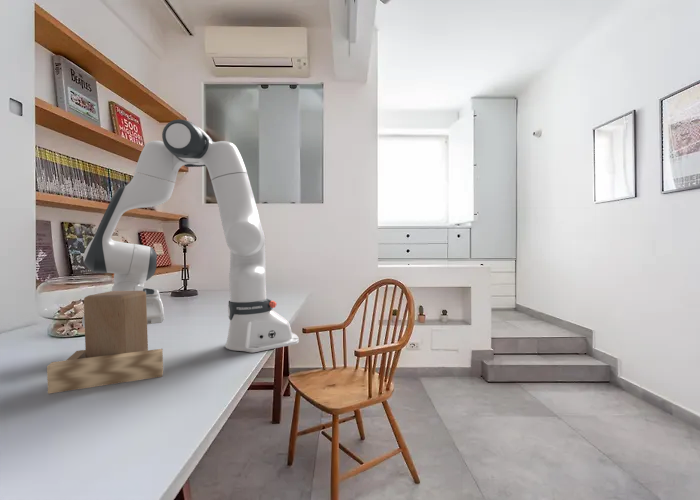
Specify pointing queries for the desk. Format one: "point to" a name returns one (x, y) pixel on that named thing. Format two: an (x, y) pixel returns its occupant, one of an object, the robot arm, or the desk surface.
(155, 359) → the tan wooden slab
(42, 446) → the desk surface
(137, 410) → the desk surface
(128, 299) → the block
